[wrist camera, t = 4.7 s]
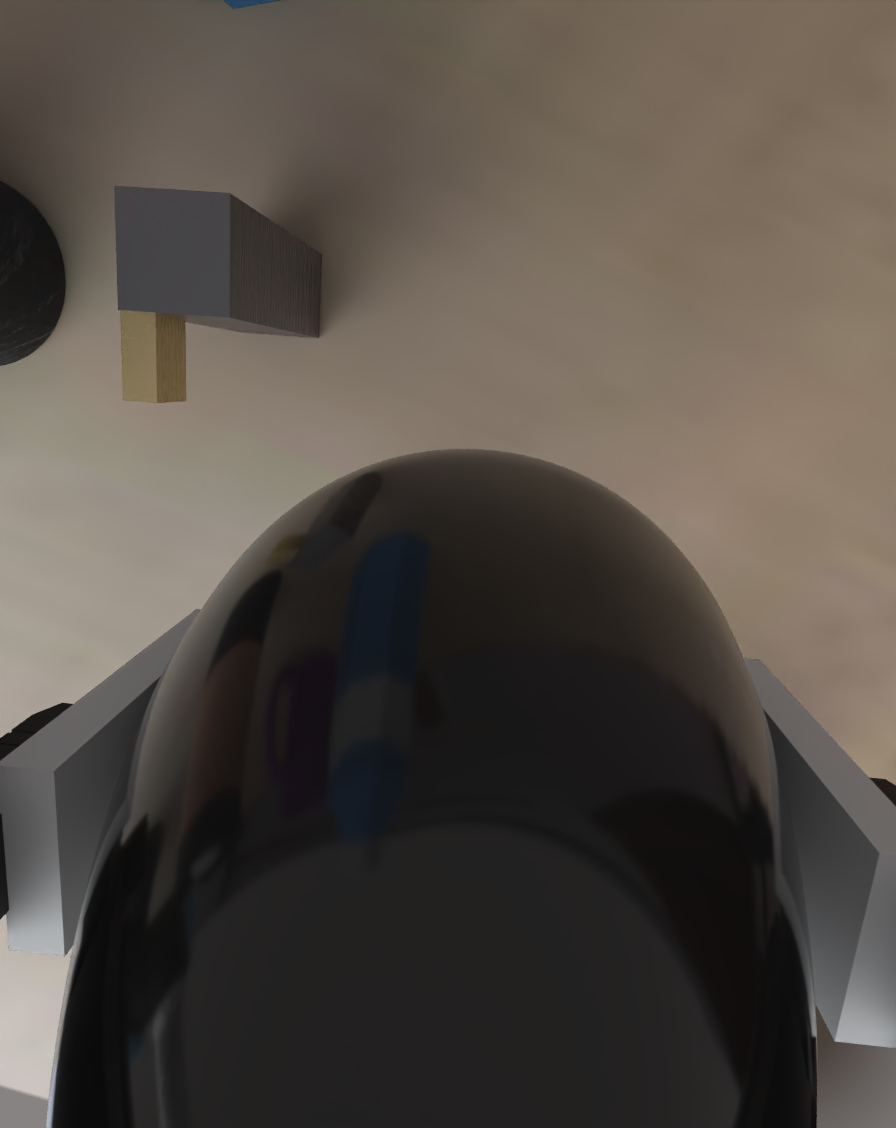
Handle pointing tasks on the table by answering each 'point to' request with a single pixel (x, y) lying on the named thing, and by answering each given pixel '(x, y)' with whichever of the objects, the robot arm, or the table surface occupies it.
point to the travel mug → (27, 277)
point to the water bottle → (245, 2)
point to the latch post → (202, 281)
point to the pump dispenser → (447, 835)
